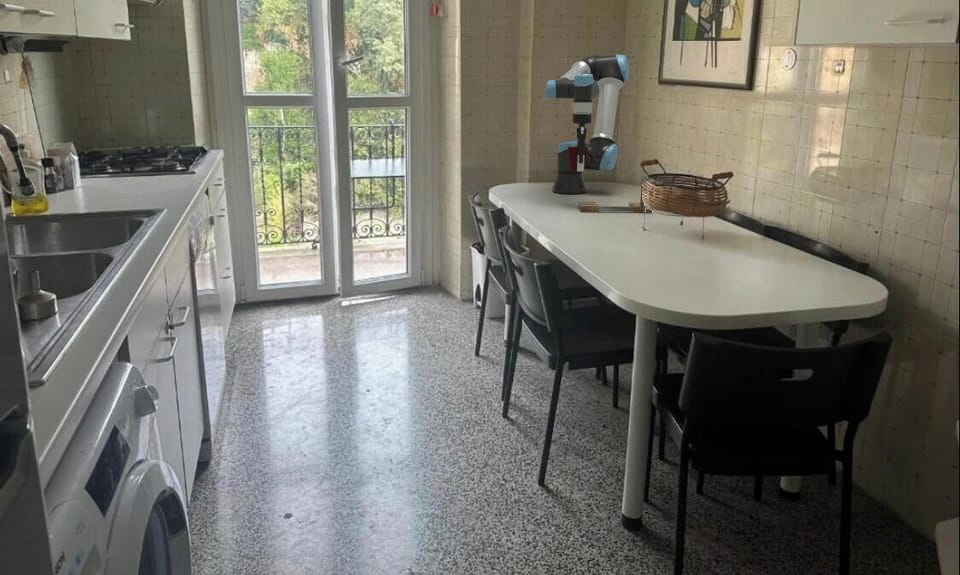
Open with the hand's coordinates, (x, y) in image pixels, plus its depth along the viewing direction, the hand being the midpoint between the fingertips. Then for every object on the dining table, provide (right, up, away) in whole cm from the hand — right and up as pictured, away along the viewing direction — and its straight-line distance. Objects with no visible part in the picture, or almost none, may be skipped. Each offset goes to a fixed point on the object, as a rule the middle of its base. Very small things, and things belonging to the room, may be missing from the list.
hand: (579, 170), depth 298 cm
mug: (0, 0, 0) cm, 1 cm away
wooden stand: (+13, -17, -5) cm, 22 cm away
